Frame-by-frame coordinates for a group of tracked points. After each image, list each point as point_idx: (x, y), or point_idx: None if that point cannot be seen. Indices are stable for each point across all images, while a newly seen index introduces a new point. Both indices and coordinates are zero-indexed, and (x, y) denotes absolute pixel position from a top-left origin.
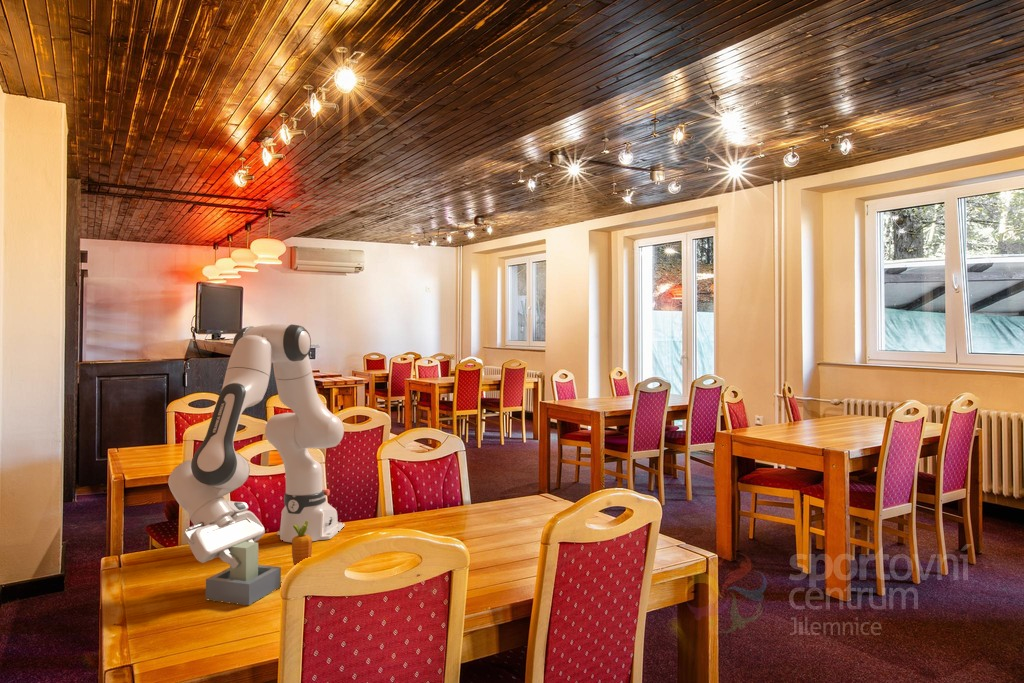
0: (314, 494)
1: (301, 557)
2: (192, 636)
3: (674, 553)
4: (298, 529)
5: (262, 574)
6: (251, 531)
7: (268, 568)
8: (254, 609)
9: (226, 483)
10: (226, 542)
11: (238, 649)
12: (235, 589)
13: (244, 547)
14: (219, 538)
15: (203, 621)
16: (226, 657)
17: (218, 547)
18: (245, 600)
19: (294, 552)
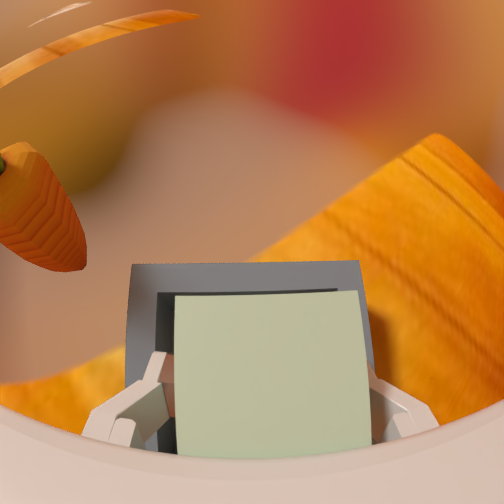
0: None
1: (69, 201)
2: (485, 286)
3: (61, 11)
4: None
5: (241, 284)
6: (25, 466)
7: (157, 311)
8: (342, 256)
9: None
10: (437, 463)
11: (459, 176)
12: None
13: (350, 318)
14: (488, 499)
15: (446, 329)
16: (476, 180)
17: (501, 418)
18: None
19: (57, 217)
